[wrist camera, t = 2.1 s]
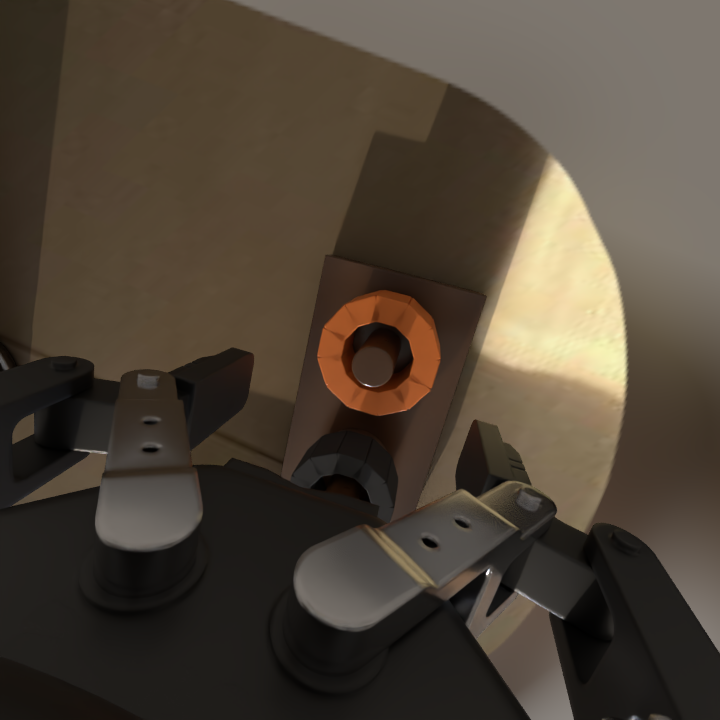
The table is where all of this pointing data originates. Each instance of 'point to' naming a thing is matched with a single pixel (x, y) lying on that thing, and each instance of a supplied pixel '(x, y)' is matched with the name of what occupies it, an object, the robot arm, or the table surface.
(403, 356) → the tape rack
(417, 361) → the orange tape
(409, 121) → the table surface
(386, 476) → the black tape
